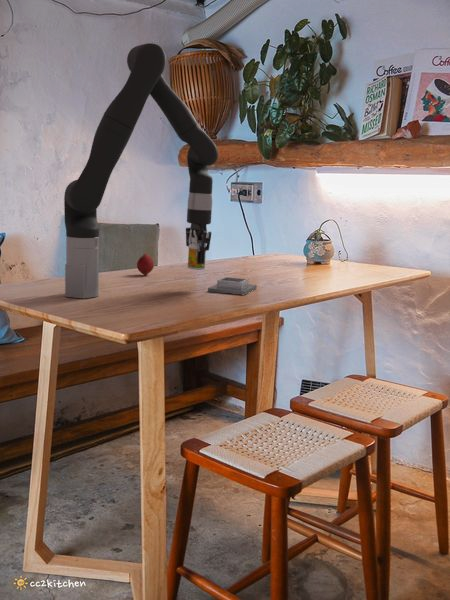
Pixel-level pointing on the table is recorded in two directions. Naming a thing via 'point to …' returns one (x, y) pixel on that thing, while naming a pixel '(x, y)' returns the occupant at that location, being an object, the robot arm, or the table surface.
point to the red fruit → (145, 264)
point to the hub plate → (232, 286)
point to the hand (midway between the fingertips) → (196, 262)
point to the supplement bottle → (194, 257)
